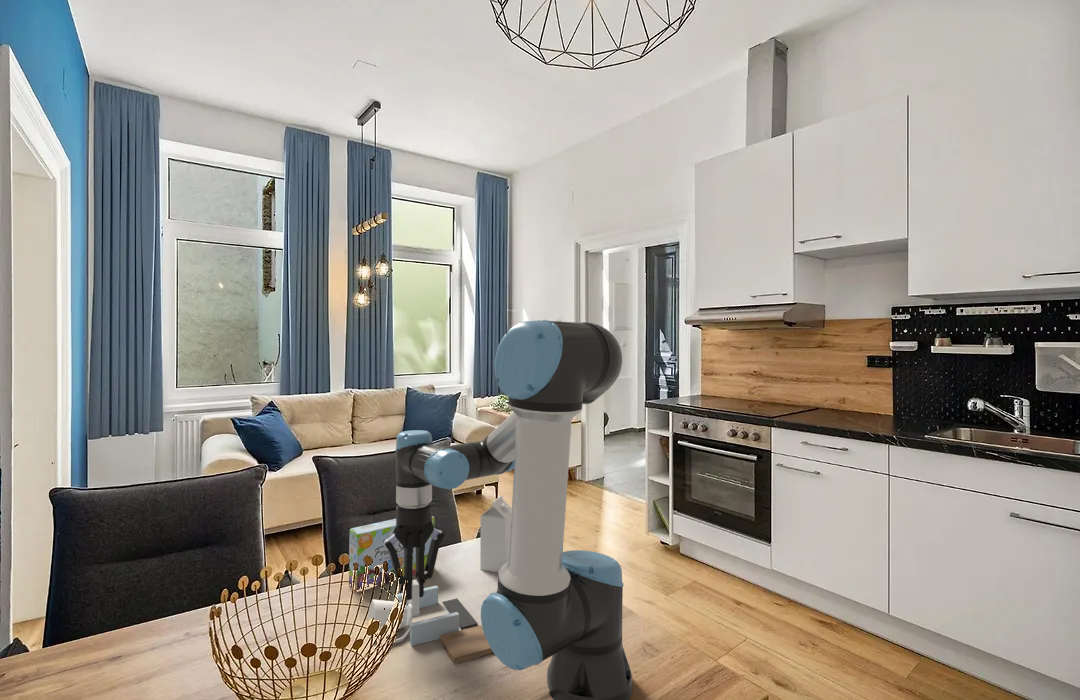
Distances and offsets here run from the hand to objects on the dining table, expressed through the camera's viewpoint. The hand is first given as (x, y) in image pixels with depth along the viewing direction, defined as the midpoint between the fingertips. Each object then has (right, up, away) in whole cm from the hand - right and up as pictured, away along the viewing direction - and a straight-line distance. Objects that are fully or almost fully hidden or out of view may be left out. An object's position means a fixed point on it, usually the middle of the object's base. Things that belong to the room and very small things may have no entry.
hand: (414, 612), depth 116 cm
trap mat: (+9, -3, +5) cm, 10 cm away
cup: (0, -1, -2) cm, 2 cm away
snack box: (-11, -3, +22) cm, 25 cm away
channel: (+2, -3, +1) cm, 3 cm away
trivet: (+13, -3, -8) cm, 15 cm away
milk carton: (+16, -3, +29) cm, 33 cm away
